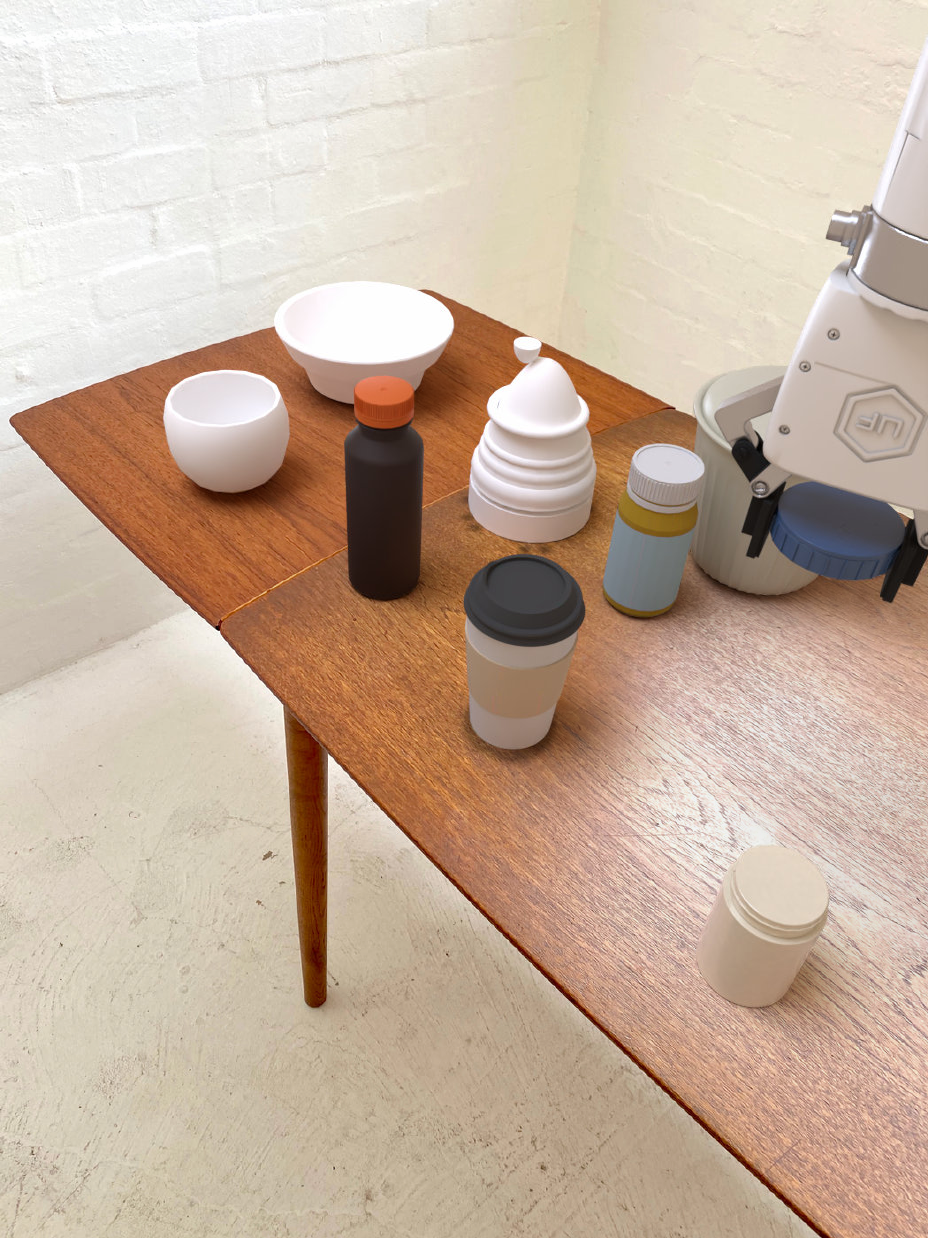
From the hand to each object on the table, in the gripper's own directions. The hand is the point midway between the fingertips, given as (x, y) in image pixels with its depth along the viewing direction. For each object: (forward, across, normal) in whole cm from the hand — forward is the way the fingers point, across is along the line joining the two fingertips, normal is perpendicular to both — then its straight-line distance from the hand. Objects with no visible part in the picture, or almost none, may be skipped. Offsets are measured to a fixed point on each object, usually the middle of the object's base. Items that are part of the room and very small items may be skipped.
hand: (822, 564), depth 56 cm
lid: (-3, 0, 0) cm, 3 cm away
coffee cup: (+26, -18, +3) cm, 32 cm away
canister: (+26, -6, +34) cm, 43 cm away
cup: (+27, -58, +20) cm, 67 cm away
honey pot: (+26, -29, +31) cm, 50 cm away
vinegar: (+26, -36, +13) cm, 47 cm away
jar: (+26, +4, -10) cm, 28 cm away
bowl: (+27, -56, +45) cm, 77 cm away
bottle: (+26, -14, +23) cm, 37 cm away
